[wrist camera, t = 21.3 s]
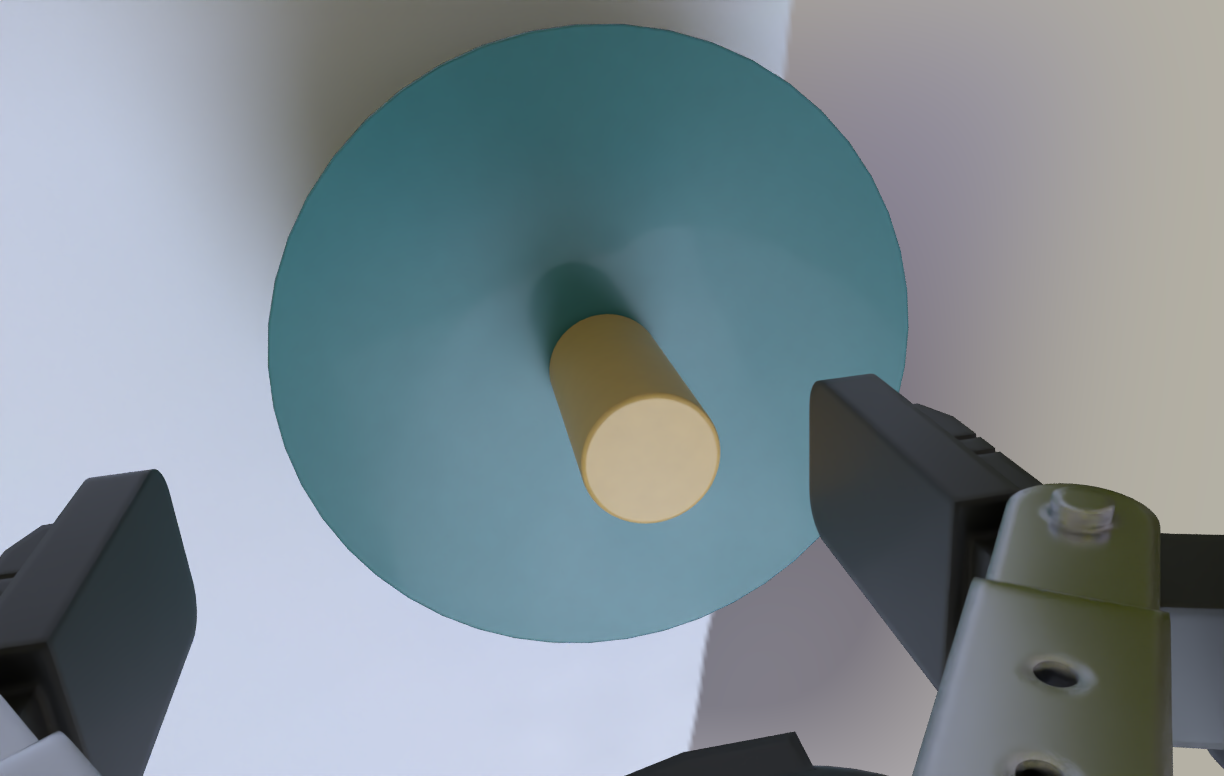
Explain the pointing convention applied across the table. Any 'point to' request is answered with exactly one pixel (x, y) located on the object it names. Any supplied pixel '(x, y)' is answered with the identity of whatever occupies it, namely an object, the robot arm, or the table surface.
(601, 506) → the lid
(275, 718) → the table surface
